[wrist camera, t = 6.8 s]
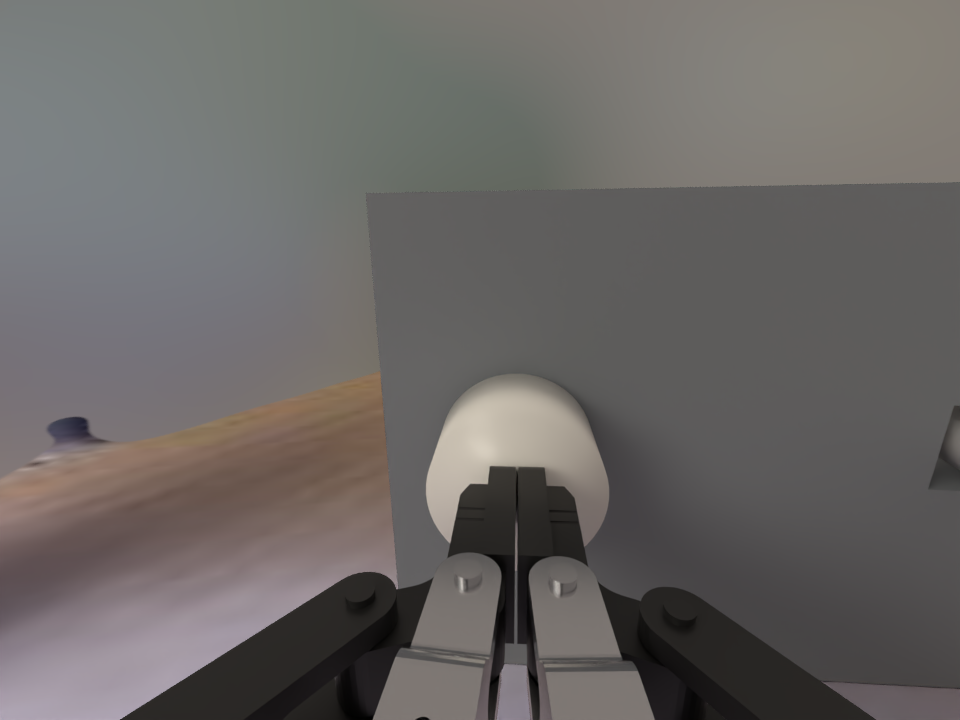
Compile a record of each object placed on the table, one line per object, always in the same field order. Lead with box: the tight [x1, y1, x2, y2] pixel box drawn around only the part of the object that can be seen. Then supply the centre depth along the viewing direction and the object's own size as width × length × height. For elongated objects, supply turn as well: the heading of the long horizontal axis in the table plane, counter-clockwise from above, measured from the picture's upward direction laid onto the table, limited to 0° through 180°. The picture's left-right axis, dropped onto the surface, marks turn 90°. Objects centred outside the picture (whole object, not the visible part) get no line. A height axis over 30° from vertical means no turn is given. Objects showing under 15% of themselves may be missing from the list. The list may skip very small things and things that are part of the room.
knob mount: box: [366, 182, 960, 688], centre depth 20 cm, size 8×24×18 cm, turn 86°
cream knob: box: [426, 374, 609, 571], centre depth 18 cm, size 10×5×5 cm, turn 176°
